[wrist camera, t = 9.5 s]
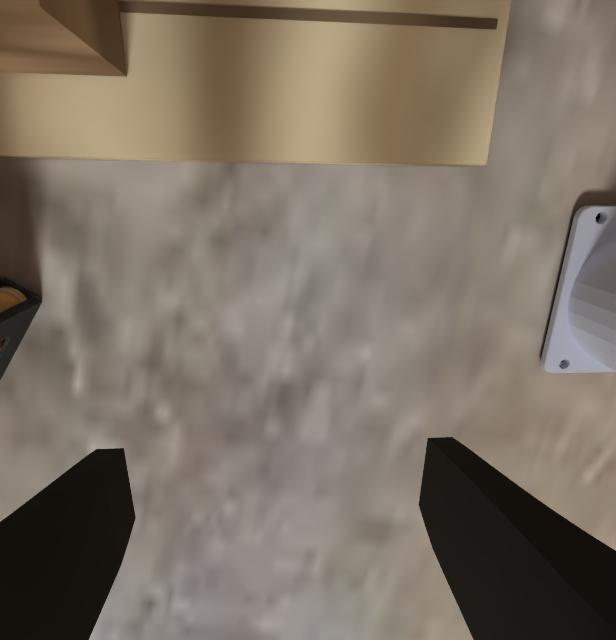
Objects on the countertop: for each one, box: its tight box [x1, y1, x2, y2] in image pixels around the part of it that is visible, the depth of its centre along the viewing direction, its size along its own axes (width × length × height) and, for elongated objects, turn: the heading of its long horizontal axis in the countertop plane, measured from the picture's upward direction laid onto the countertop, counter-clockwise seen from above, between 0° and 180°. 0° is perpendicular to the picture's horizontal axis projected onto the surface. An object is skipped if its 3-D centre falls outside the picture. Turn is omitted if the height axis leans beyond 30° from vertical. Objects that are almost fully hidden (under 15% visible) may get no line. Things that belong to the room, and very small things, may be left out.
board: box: [0, 0, 511, 167], centre depth 13 cm, size 18×9×2 cm, turn 89°
